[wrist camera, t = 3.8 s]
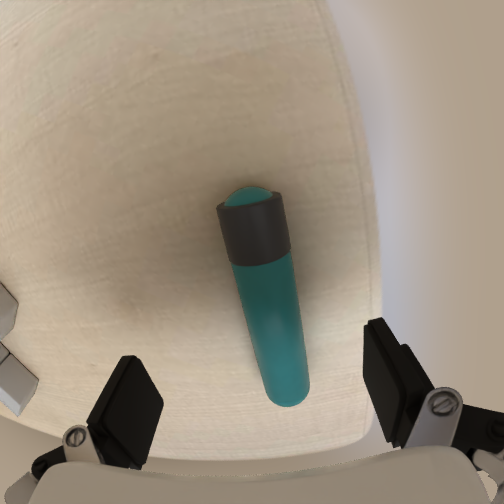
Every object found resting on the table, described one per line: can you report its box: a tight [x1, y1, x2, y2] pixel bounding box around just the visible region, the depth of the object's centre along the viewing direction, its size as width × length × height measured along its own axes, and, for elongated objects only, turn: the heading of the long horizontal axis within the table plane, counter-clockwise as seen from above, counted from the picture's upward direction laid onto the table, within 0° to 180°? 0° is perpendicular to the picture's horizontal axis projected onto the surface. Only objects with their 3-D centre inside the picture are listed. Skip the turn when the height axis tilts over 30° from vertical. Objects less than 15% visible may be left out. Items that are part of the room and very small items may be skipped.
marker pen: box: [216, 187, 310, 407], centre depth 14 cm, size 13×3×3 cm, turn 12°
